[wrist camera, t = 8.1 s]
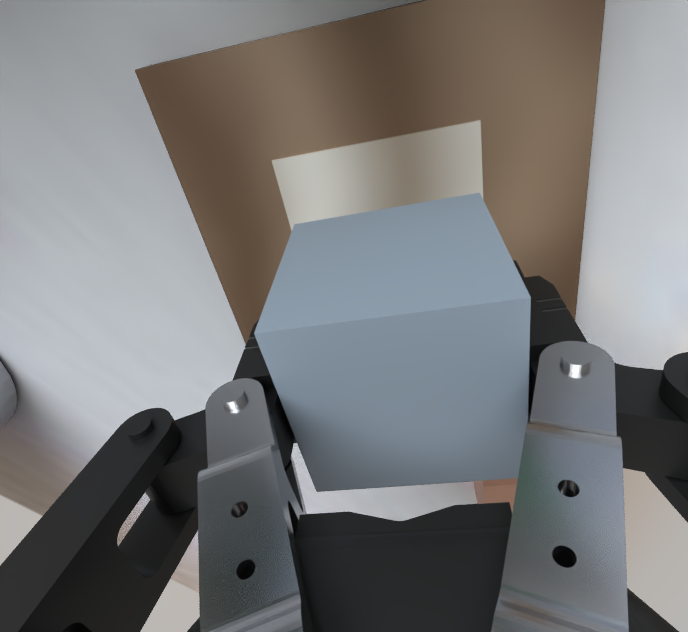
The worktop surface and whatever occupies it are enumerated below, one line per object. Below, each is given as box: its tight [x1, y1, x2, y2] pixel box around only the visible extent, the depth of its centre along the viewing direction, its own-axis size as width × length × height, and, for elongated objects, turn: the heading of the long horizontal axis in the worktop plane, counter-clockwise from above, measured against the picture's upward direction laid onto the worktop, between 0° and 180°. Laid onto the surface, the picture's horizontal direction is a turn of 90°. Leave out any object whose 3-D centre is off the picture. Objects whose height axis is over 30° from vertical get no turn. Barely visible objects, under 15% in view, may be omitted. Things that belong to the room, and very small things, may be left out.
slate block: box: [254, 193, 531, 492], centre depth 12 cm, size 5×5×5 cm
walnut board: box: [135, 0, 605, 344], centre depth 18 cm, size 14×14×1 cm
